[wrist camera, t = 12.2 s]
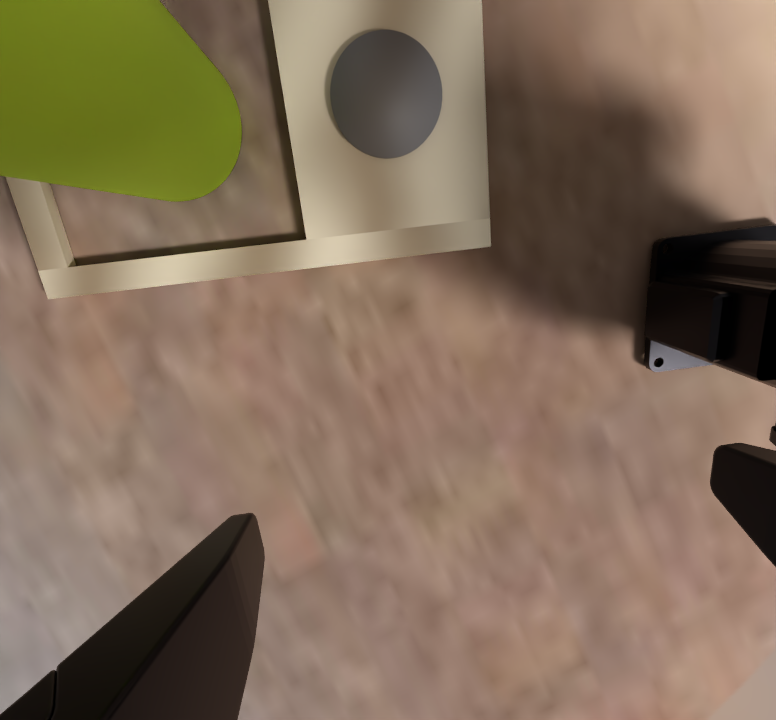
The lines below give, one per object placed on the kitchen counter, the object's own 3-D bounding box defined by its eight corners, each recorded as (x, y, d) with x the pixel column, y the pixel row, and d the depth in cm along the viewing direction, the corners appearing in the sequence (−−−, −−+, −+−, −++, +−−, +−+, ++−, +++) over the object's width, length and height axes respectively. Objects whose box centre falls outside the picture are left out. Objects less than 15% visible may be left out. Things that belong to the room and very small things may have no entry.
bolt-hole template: (473, -97, 16) (480, -116, 15) (487, 246, 20) (492, 246, 19) (-62, -52, 15) (-87, -68, 14) (57, 297, 19) (43, 300, 18)
